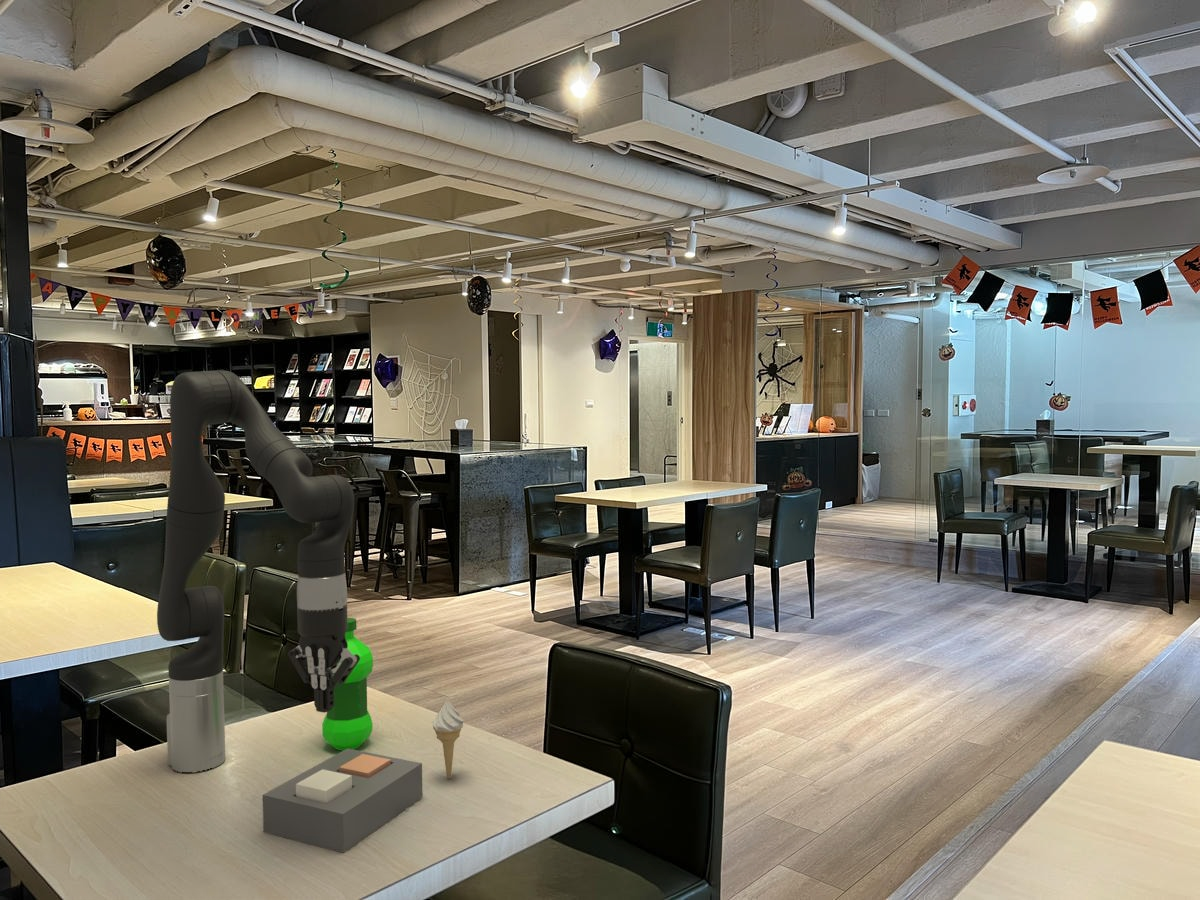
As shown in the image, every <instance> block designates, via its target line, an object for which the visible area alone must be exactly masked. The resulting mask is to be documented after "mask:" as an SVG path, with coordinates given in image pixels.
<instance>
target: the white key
mask: <svg viewBox="0 0 1200 900" xmlns="http://www.w3.org/2000/svg"><path fill="white" fill-rule="evenodd" d="M350 789H352V776H351V775H346V774H342V773H337V772H332V771H328V770H323V769H322V770H320V771H319V772H317V773H315V774H313V775H311V776H310V777H308V778H306V779H304V780H302V781H301V782H299V783H297V784H296V797H299V798H303V799H308V800H312V801H316V802H321V803H325V804H327V803H329V802H330V801H332V800H334V799H335V798H337V797H338V796H340V795H342V794H343V793H345V792H347V791H348V790H350Z"/></svg>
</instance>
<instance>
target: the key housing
mask: <svg viewBox="0 0 1200 900" xmlns="http://www.w3.org/2000/svg"><path fill="white" fill-rule="evenodd" d="M362 754H366V755H371V756H376V757H381V758H386V759H391V765H389V766H387V767H386V768H384V769H383V770H381V771H379V772H378V773H376V774H374V775H373V776H371V777H370V778H366V777H361V776H356V775H352V774H347V773H342V772H339V767H340V766H342V765H344V764H346V763H347V762H349V761H351V760H353V759H355V758H356V757H358V756H360V755H362ZM322 769H323V770H328V771H332V772H337V773H342V774H346V775H351V776H352V789H350V790H348V791H347V792H345V793H343V794H342V795H340V796H338V797H337V798H335V799H334V800H332V801H330V802H329V803H327V804H325V803H321V802H316V801H312V800H308V799H303V798H299V797H296V784H297V783H299V782H301V781H302V780H304V779H306V778H308V777H310V776H311V775H313V774H315V773H317V772H319V771H320V770H322ZM422 798H423V763H421V762H417V761H412V760H407V759H402V758H397V757H392V756H387V755H383V754H377V753H372V752H367V751H363V750H362V751H361V750H357V749H348V748H347V749H346V750H344V751H340V752H338V753H337V754H334V755H333V756H331V757H329V758H328V759H326V760H323V761H322V762H320V763H318V764H317V765H315V766H313V767H311V768H309V769H307V770H305V771H304V772H302V773H300V774H298V775H296V776H294V777H292V778H291V779H289V780H287V781H285V782H283V783H282V784H279V785H277V786H276V787H273V789H270V790H269V791H267V792H265V793H263V794H262V798H261V799H262V821H263V822H262V829H263V833H266V834H270V835H273V836H276V837H277V836H278V837H282V838H286V839H289V840H293V841H297V842H300V843H304V844H309V845H312V846H315V847H316V846H317V847H320V848H324V849H327V850H332V851H336V852H339V853H343V854H344V853H346V852H347V851H349V850H350V849H352V848H353V847H354V846H356V845H357V844H359V843H360V842H361V841H363V840H364V839H366V838H367V837H368V836H370V835H371V834H373V833H374V832H376V831H378V829H380V828H382V827H383V826H384V825H385V824H387V823H388V822H390V821H391V820H393V819H394V818H395V817H397V816H399V815H400V814H401V813H403V812H404V811H405V810H407V809H409V808H410V807H411V806H413V805H414V804H416V803H417V802H418V801H420V800H422Z"/></svg>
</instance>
